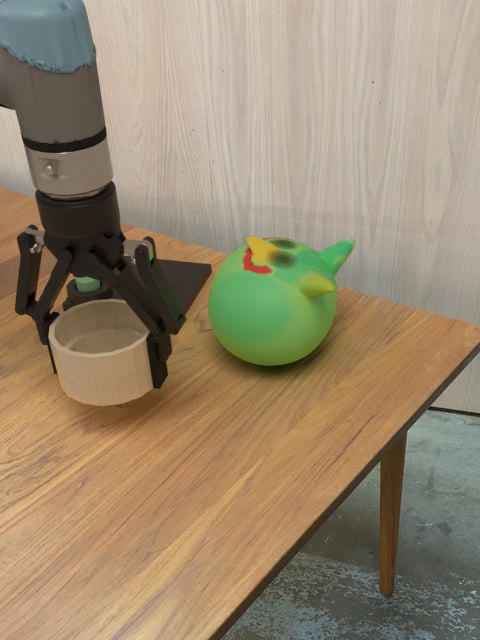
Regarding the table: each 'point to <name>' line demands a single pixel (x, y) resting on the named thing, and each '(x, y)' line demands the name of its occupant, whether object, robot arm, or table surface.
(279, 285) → the toy bird
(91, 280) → the button
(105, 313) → the bowl
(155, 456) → the table surface
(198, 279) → the scale
